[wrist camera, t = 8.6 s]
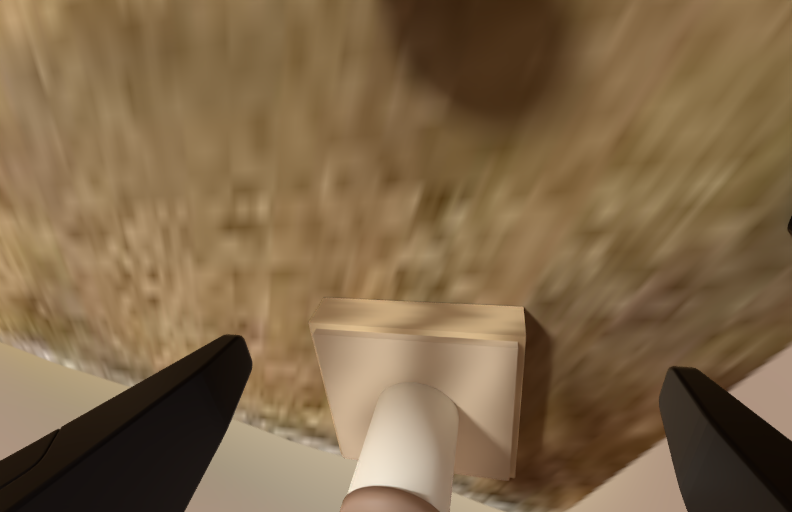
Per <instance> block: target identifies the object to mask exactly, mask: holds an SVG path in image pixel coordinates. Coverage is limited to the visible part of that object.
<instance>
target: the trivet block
mask: <svg viewBox="0 0 792 512" xmlns="http://www.w3.org/2000/svg"><path fill="white" fill-rule="evenodd" d="M308 323H309V327H310V331H311V335H312V339H313V343H314V347H315V351H316V355H317V359H318V363H319V367H320V371H321V375H322V379H323V383H324V387H325V391H326V395H327V399H328V403H329V407H330V411H331V415H332V419H333V423H334V427H335V431H336V435H337V439H338V443H339V447H340V451H341V454H342V455H343V457H344V458H347V459H355V460H359V457H360V454H361V451H362V448H363V444H364V441H365V438H366V435H367V432H368V429H369V426H370V423H371V420H372V417H373V413H374V410H375V407H376V404H377V401H378V398H379V396H380V394H381V393H382V392H383V391H384V390H385V389H386V388H388V387H390V386H392V385H395V384H398V383H405V382H414V383H421V384H425V385H428V386H431V387H433V388H435V389H437V390H439V391H441V392H442V393H444V394H445V395H446V396H448V397H449V398H450V399H451V400H452V402H453V403H454V404H455V406H456V408H457V410H458V413H459V425H458V434H457V444H456V454H455V464H454V473H455V474H462V475H469V476H476V477H484V478H491V479H498V480H505V481H509V478H515V471H516V459H517V446H518V434H519V421H520V408H521V396H522V383H523V371H524V358H525V345H526V329H525V318H524V308H523V307H516V306H495V305H474V304H452V303H431V302H409V301H388V300H367V299H345V298H323V300H322V301H321V303H320V304H319V306H318V308H317V309H316V311H315V313H314V314H313V316H312V318H311V319H310V321H309V322H308Z"/></svg>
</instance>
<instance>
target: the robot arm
mask: <svg viewBox="0 0 792 512" xmlns="http://www.w3.org/2000/svg"><path fill="white" fill-rule="evenodd" d="M788 230H789V232H790V233H792V216H791V219H790V221H789V224H788ZM251 370H252V359H251V356H250V353H249V350H248V348H247V345H246V342H245V339H244V338H243V337H242V336H240V335H230V334H227V335H223V336H221V337H219V338H218V339H216V340H214V341H212V342H211V343H209V344H207V345H205V346H203V347H202V348H200V349H198V350H196V351H195V352H193V353H191V354H189V355H188V356H186V357H184V358H182V359H180V360H179V361H177V362H175V363H173V364H172V365H170V366H168V367H166V368H165V369H163V370H161V371H159V372H157V373H156V374H154V375H152V376H150V377H149V378H147V379H145V380H143V381H142V382H140V383H138V384H136V385H135V386H133V387H131V388H129V389H127V390H126V391H124V392H122V393H120V394H119V395H117V396H115V397H113V398H112V399H110V400H108V401H106V402H104V403H103V404H101V405H99V406H97V407H96V408H94V409H92V410H90V411H89V412H87V413H85V414H83V415H81V416H80V417H78V418H76V419H74V420H73V421H71V422H69V423H67V424H66V425H64V426H62V427H61V429H57V430H55V431H53V432H51V433H50V434H48V435H46V436H44V437H43V438H41V439H39V440H37V441H36V442H34V443H32V444H30V445H28V446H26V447H25V448H23V449H21V450H19V451H17V452H16V453H14V454H12V455H10V456H8V457H6V458H5V459H3V460H1V461H0V512H184V511H185V510H186V508H187V506H188V504H189V502H190V500H191V498H192V496H193V494H194V492H195V491H196V489H197V487H198V485H199V483H200V481H201V479H202V477H203V475H204V473H205V471H206V470H207V468H208V466H209V464H210V462H211V460H212V458H213V456H214V454H215V453H216V451H217V449H218V447H219V445H220V443H221V441H222V439H223V437H224V435H225V433H226V431H227V429H228V427H229V424H230V422H231V420H232V417H233V415H234V412H235V410H236V408H237V405H238V403H239V400H240V398H241V395H242V393H243V390H244V388H245V385H246V383H247V381H248V378H249V376H250V373H251ZM659 408H660V412H661V417H662V421H663V425H664V429H665V433H666V437H667V441H668V445H669V449H670V453H671V457H672V461H673V465H674V469H675V473H676V477H677V481H678V485H679V488H680V491H681V494H682V497H683V500H684V503H685V506H686V509H687V511H688V512H792V441H791V440H789V439H788V438H787V437H785V436H784V435H783V434H781V433H780V432H779V431H778V430H776V429H775V428H774V427H772V426H771V425H770V424H768V423H767V422H766V421H765V420H763V419H762V418H761V417H759V416H758V415H757V414H755V413H754V412H753V411H752V410H750V409H749V408H748V407H746V406H745V405H744V404H742V403H741V402H740V401H739V400H737V399H736V398H735V397H733V396H732V395H731V394H729V393H728V392H727V391H725V390H724V389H723V388H722V387H720V386H719V385H718V384H716V383H715V382H714V381H712V380H711V379H710V378H709V377H707V376H706V375H705V374H703V373H702V372H701V371H699V370H698V369H696V368H692V367H678V366H673V367H670V368H669V369H668V371H667V374H666V377H665V380H664V383H663V386H662V389H661V393H660V396H659Z"/></svg>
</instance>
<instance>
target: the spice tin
mask: <svg viewBox="0 0 792 512" xmlns="http://www.w3.org/2000/svg"><path fill="white" fill-rule="evenodd" d="M458 425H459V413H458V410H457V408H456V406H455V404H454V403H453V402H452V400H451V399H450V398H449V397H448V396H446V395H445V394H444V393H442V392H441V391H439V390H437V389H435V388H433V387H431V386H428V385H425V384H421V383H414V382H405V383H398V384H395V385H392V386H390V387H388V388H386V389H385V390H384V391H383V392H382V393H381V394H380V396H379V398H378V401H377V404H376V407H375V410H374V413H373V417H372V420H371V423H370V426H369V429H368V432H367V435H366V438H365V441H364V444H363V448H362V451H361V454H360V457H359V460H358V463H357V466H356V470H355V472H354V476H353V479H352V482H351V485H350V488H349V491H348V494H347V496H346V497H345V498H344V500H343V503H342V506H341V509H340V512H450V503H451V493H452V483H453V474H454V464H455V454H456V444H457V434H458Z"/></svg>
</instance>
